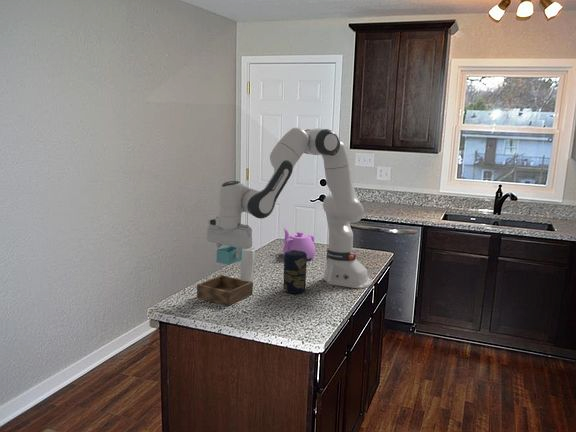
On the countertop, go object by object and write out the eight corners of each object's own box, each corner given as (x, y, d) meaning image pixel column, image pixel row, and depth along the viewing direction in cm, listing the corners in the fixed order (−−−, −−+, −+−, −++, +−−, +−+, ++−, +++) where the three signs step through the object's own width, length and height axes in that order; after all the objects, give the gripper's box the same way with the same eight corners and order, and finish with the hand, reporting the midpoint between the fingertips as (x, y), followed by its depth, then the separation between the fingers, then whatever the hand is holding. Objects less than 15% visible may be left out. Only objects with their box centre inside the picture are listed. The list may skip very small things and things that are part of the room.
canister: (289, 296, 206) (291, 254, 203) (279, 289, 214) (280, 248, 211) (309, 293, 210) (311, 251, 207) (298, 286, 219) (300, 246, 215)
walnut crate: (252, 294, 206) (252, 281, 205) (229, 306, 192) (229, 292, 191) (221, 287, 214) (221, 274, 213) (197, 297, 200) (197, 284, 199)
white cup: (251, 284, 219) (252, 251, 216) (236, 282, 220) (237, 249, 218) (255, 279, 226) (256, 247, 223) (241, 278, 227) (241, 246, 224)
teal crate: (241, 260, 203) (242, 248, 202) (228, 264, 195) (229, 252, 194) (229, 257, 206) (230, 245, 205) (216, 262, 198) (216, 249, 197)
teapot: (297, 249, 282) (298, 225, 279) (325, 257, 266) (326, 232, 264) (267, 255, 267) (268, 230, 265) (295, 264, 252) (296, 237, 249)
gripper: (256, 224, 195) (254, 258, 197) (214, 217, 205) (213, 250, 207) (247, 227, 189) (245, 262, 192) (204, 219, 199) (203, 253, 202)
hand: (228, 255), depth 200 cm, fingers closed on teal crate, 6 cm apart
